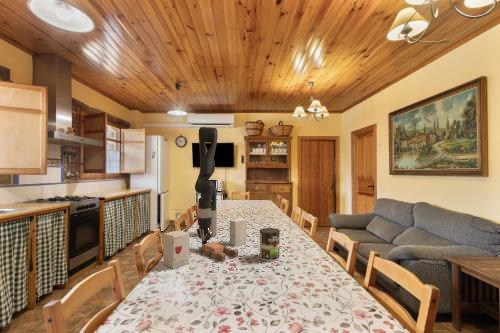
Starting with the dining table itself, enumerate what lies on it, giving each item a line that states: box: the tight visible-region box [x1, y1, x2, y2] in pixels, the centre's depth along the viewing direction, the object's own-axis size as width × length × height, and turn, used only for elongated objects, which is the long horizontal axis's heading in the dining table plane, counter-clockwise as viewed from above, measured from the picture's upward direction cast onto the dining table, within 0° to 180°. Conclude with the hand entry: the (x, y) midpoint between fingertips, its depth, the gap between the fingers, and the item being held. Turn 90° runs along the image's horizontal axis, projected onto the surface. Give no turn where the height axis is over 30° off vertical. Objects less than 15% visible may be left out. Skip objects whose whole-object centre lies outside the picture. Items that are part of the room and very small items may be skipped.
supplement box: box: [162, 230, 190, 270], centre depth 123 cm, size 9×9×15 cm
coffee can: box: [259, 227, 281, 262], centre depth 133 cm, size 10×10×14 cm
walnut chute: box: [198, 246, 239, 262], centre depth 137 cm, size 20×11×4 cm, turn 46°
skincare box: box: [229, 217, 247, 247], centre depth 155 cm, size 8×6×15 cm
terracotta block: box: [203, 241, 225, 254], centre depth 139 cm, size 10×6×4 cm, turn 46°
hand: (204, 247), depth 145 cm, fingers closed
